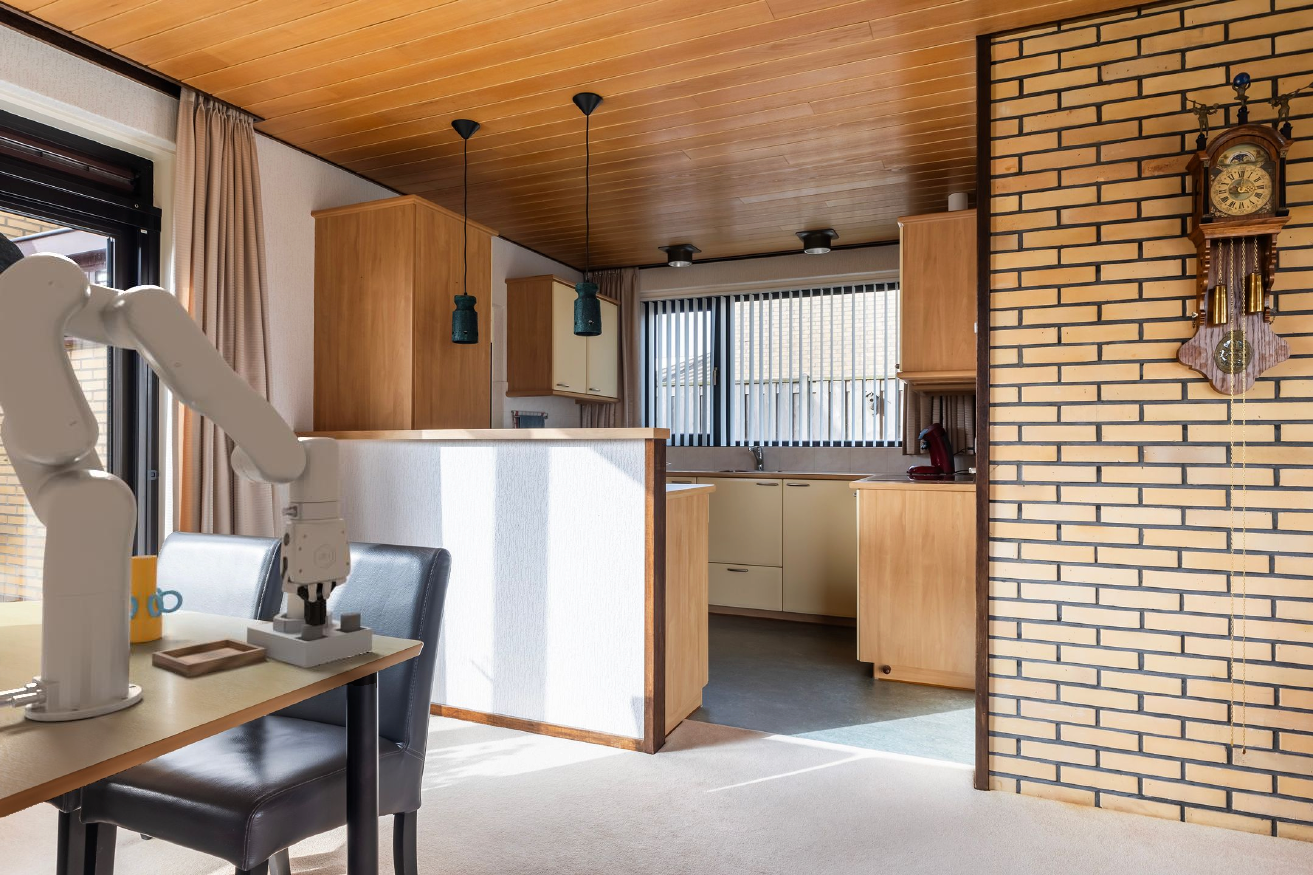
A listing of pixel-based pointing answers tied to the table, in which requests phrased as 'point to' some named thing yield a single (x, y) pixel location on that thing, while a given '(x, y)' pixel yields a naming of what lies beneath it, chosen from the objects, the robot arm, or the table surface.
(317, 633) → the plunger left
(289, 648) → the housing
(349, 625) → the plunger right
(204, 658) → the tray
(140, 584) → the cylinder
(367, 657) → the table surface
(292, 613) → the cylinder
